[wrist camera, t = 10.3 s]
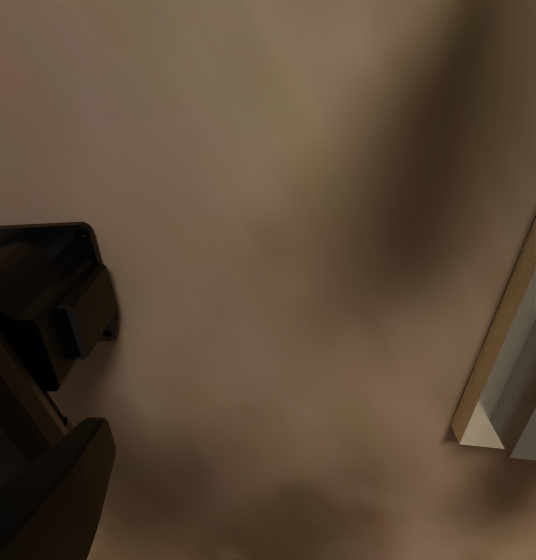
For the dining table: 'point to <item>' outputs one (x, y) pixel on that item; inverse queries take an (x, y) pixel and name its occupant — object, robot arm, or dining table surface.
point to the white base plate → (506, 371)
